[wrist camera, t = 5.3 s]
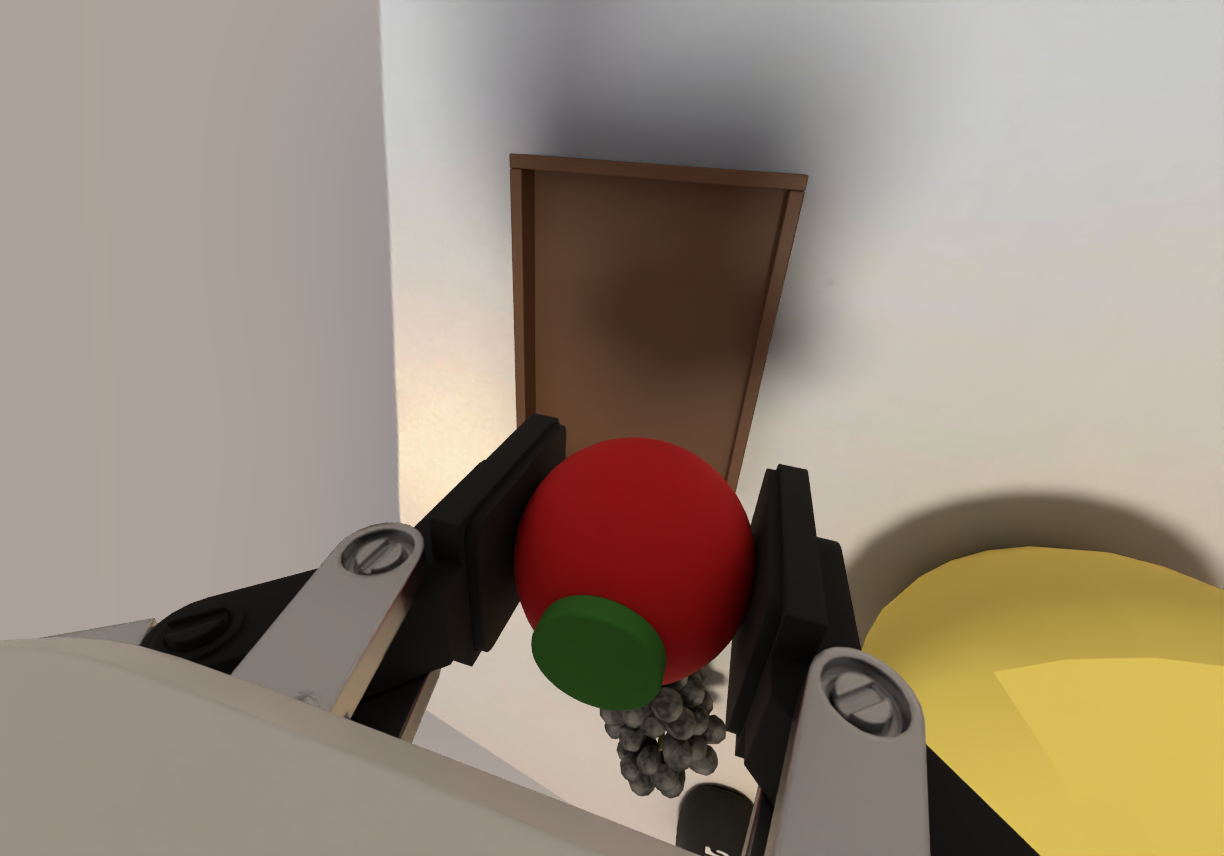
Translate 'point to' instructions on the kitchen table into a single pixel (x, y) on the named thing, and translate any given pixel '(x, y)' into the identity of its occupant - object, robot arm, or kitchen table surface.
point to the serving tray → (647, 298)
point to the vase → (1072, 695)
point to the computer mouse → (713, 822)
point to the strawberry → (632, 570)
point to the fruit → (667, 737)
